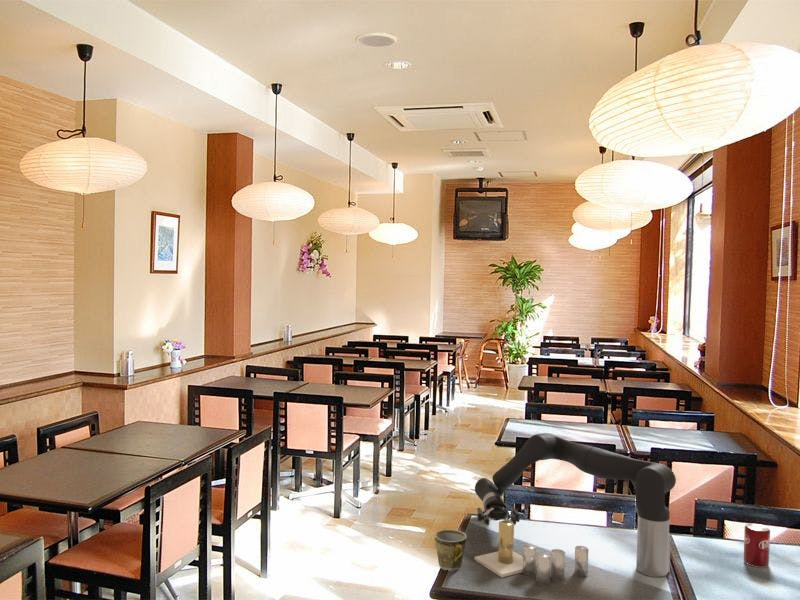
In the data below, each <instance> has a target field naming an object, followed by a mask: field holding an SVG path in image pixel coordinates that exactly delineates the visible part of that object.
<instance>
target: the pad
mask: <svg viewBox="0 0 800 600" xmlns="http://www.w3.org/2000/svg"><path fill="white" fill-rule="evenodd" d="M475 560H476V561H475ZM474 561H475V562H477V563H478V564H480V565H481V566H484V567H485V568H486V569H488V570H490V571H491V572H493V573H494V574H495V575H497V576H499V577H500V578H505V577H509V576H513V575H516V574H521V573H523V555H520V553H517V552H515V551H514V552H513V563H511V564H503V563H500V562H499V561H498V550H497V551H494V552H489V553H485V554H481V555H477V556H474ZM536 569H537V564H536Z"/></svg>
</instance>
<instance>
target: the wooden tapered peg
mask: <svg viewBox="0 0 800 600" xmlns="http://www.w3.org/2000/svg"><path fill="white" fill-rule="evenodd" d="M497 542H498V543H497V544H498V546H497V551H498V561H499V562H500V563H503V564H511V563H513V552H515V551H514V549H515V548H514V546H515V545H514V544H515V526H514V523H513V522H510V521H504V520H499V522H498V541H497Z"/></svg>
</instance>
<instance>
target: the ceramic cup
mask: <svg viewBox="0 0 800 600" xmlns="http://www.w3.org/2000/svg"><path fill="white" fill-rule="evenodd" d="M467 537H468V536H467V534H466V533H465V532H463V531H462V530H457V529H451V528H450V529H441V530H438V531H436V532H435V534H434V541H435V542H434V543H435V547H436V554H437V560H438V561H437V563H438V566H439V567H440V568H441V570H443V569H444V570H443V571H446V570H448V571H447V572H455V570H457V571H459V570H460V569H459V568H461V567H462V563H463V560H464V559H463V558H464V554H465V553H464V552H465V549H466V545H467ZM442 565H443V566H442Z"/></svg>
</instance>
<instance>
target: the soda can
mask: <svg viewBox="0 0 800 600" xmlns="http://www.w3.org/2000/svg"><path fill="white" fill-rule="evenodd" d="M743 534H744V536H743V539H744V540H743V561H744V563H745V562H746V563H748V564H750V565H753V566H757V567H756V568H758V567H765V568H767V567H768V566H769V565H770V545H771V530H770V528H769V527H768V526H766V525H763V524H761V523H760V524H759V523H751V522H750V523H747V524H745V525H744V533H743ZM746 563H745V564H746ZM748 564H747V565H748ZM750 565H749V566H750ZM753 566H752V567H753Z"/></svg>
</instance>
